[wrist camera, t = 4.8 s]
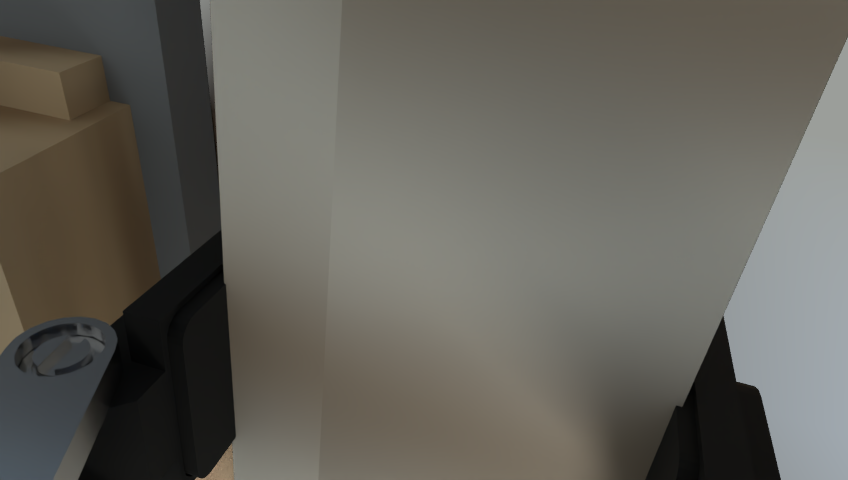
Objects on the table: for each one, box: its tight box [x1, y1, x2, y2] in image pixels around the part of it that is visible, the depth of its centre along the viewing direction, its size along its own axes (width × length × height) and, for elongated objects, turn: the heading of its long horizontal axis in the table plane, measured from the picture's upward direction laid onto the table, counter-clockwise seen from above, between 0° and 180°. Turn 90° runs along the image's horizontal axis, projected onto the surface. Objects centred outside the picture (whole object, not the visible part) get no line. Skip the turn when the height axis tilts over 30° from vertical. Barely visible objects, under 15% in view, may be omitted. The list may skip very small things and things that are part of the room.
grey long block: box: [210, 0, 848, 480], centre depth 11 cm, size 18×6×4 cm, turn 174°
